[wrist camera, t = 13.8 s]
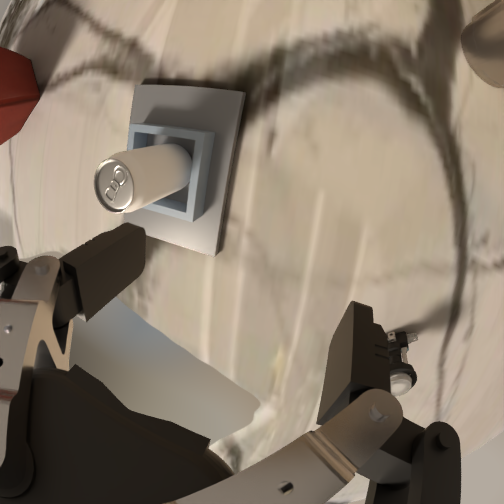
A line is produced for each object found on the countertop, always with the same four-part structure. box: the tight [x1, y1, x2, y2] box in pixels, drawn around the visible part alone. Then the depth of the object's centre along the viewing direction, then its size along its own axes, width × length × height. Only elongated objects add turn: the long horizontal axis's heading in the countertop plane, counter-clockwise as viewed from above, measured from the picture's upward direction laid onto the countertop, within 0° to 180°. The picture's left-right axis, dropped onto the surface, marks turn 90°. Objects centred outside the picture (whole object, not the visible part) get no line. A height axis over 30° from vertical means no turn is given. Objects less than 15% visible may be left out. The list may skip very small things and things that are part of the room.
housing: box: [124, 85, 246, 257], centre depth 35 cm, size 22×16×4 cm
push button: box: [387, 332, 418, 396], centre depth 34 cm, size 7×5×10 cm
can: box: [94, 144, 192, 213], centre depth 31 cm, size 6×6×12 cm
